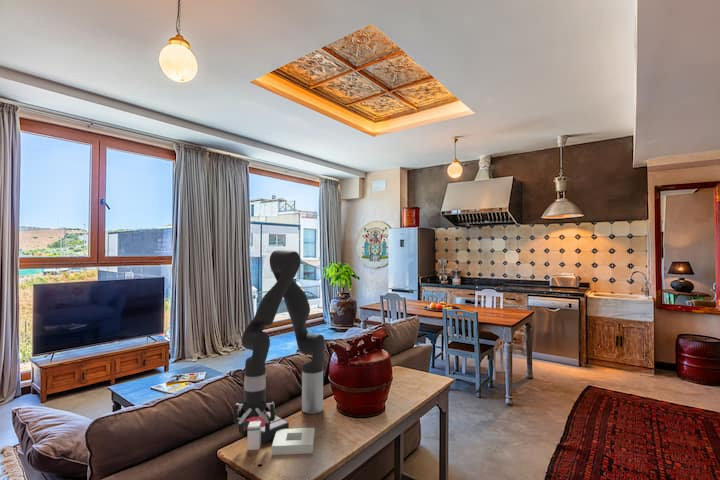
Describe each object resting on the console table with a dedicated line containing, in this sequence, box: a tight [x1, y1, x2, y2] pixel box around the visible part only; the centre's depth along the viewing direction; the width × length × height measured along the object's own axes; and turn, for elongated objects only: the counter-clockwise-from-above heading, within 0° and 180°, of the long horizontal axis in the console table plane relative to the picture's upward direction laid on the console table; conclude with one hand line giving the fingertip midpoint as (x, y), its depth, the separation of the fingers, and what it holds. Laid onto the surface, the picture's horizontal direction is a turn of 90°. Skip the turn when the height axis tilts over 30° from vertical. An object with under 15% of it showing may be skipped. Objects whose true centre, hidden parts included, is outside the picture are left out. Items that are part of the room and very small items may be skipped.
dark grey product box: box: [243, 411, 290, 444], centre depth 140 cm, size 11×4×15 cm
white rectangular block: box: [246, 421, 262, 451], centre depth 129 cm, size 4×4×8 cm
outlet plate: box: [271, 427, 316, 456], centre depth 130 cm, size 12×14×3 cm
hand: (254, 433), depth 129 cm, fingers open, 8 cm apart
